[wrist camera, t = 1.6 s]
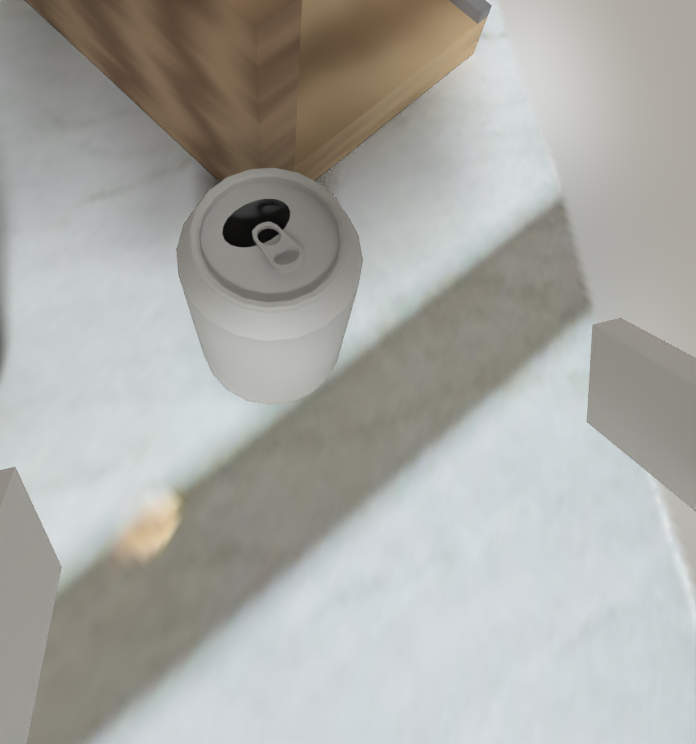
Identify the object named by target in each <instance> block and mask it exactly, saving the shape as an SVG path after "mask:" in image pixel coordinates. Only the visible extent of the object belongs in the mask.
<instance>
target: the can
mask: <svg viewBox="0 0 696 744" xmlns="http://www.w3.org/2000/svg"><path fill="white" fill-rule="evenodd" d="M177 261H178V274H179V278H180V282H181V285H182V288H183V291H184V294H185V297H186V300H187V303H188V306H189V309H190V313H191V316H192V319H193V322H194V325H195V328H196V331H197V334H198V337H199V341H200V344H201V347H202V350H203V353H204V356H205V358H206V360H207V363H208V365H209V367H210V369H211V371H212V374H213V375H214V376H215V377H216V378H217V379H218V381H219V382H220V383H221V384H222V385H223V386H224V387H225V388H226V389H227V390H228V391H230V392H232V393H234V394H236V395H237V396H239V397H241V398H243V399H245V400H247V401H251V402H257V403H262V404H267V405H272V404H281V403H290V402H293V401H295V400H298V399H300V398H302V397H304V396H306V395H309V394H311V393H312V392H313V391H314V390H315V389H317V388H318V387H319V386H320V385H321V384H322V383H323V382H324V381H325V380H327V378H328V376H329V375H330V373H331V371H332V369H333V367H334V366H335V364H336V362H337V359H338V356H339V352H340V349H341V345H342V341H343V338H344V334H345V331H346V327H347V324H348V320H349V317H350V313H351V310H352V306H353V303H354V299H355V295H356V292H357V288H358V284H359V279H360V273H361V267H362V262H363V259H362V253H361V247H360V242H359V236H358V234H357V232H356V230H355V228H354V226H353V225H352V223H351V221H350V219H349V217H348V216H347V214H346V212H345V211H344V210H343V209H342V208H341V206H340V204H339V203H338V201H337V199H336V198H334V197H333V196H332V195H331V194H330V193H329V192H328V191H327V190H326V189H325V188H324V187H323V186H322V185H321V184H319V183H318V182H316V181H314V180H312V179H310V178H308V177H306V176H304V175H302V174H300V173H297V172H293V171H288V170H283V169H278V168H261V169H249V170H246V171H243V172H240V173H237V174H234V175H231V176H228V177H226V178H225V179H223V180H222V181H221V182H219V183H218V184H216V185H215V186H214V187H212V188H211V189H209V190H208V191H207V192H206V194H205V195H204V196H203V198H202V199H201V201H200V202H199V203H198V205H197V206H196V208H195V209H194V211H193V212H192V214H191V215H190V216H189V218H188V219H187V221H186V222H185V223H184V225H183V229H182V232H181V236H180V239H179V243H178V246H177Z"/></svg>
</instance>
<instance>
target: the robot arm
mask: <svg viewBox="0 0 696 744" xmlns="http://www.w3.org/2000/svg"><path fill="white" fill-rule="evenodd" d="M587 423H589V424H590V425H591V426H592V427H594V428H595V429H596V430H597V431H598V432H600V433H601V434H602V435H603V436H605V437H606V438H607V439H608V440H609V441H611V442H612V443H613V444H614V445H616V446H617V447H618V448H619V449H620V450H622V451H623V452H624V453H625V454H627V455H628V456H629V457H630V458H631V459H633V460H634V461H635V462H636V463H637V464H639V465H640V466H641V467H642V468H644V469H645V470H646V471H647V472H648V473H650V474H651V475H652V476H653V477H655V478H656V479H657V480H658V481H659V482H661V483H662V484H663V485H664V486H666V487H667V488H668V489H669V490H670V491H672V492H673V493H674V494H675V495H677V496H678V497H679V498H680V499H681V500H683V501H684V502H685V503H686V504H687V505H689V506H690V507H691V508H693V509H694V510H695V511H696V358H695V357H693V356H691V355H689V354H687V353H685V352H683V351H681V350H680V349H678V348H676V347H674V346H672V345H670V344H669V343H667V342H665V341H663V340H661V339H659V338H657V337H655V336H653V335H651V334H650V333H648V332H646V331H644V330H642V329H640V328H639V327H637V326H635V325H633V324H631V323H629V322H627V321H625V320H623V319H622V318H619V319H615V320H611V321H607V322H602V323H598V324H594V325H593V327H592V343H591V360H590V376H589V393H588V409H587ZM61 568H62V567H61V565H60V562H59V560H58V558H57V556H56V554H55V552H54V549H53V547H52V545H51V543H50V541H49V539H48V537H47V534H46V532H45V530H44V528H43V526H42V524H41V521H40V519H39V517H38V515H37V513H36V511H35V508H34V506H33V504H32V502H31V500H30V498H29V495H28V493H27V491H26V489H25V487H24V485H23V483H22V480H21V478H20V476H19V474H18V472H17V470H16V467H12V468H8V469H4V470H0V744H27V739H28V734H29V729H30V724H31V718H32V713H33V708H34V703H35V698H36V693H37V688H38V683H39V678H40V673H41V668H42V663H43V658H44V653H45V648H46V643H47V638H48V633H49V628H50V623H51V618H52V613H53V608H54V603H55V598H56V593H57V588H58V583H59V578H60V573H61Z"/></svg>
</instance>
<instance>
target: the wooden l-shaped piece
mask: <svg viewBox="0 0 696 744" xmlns="http://www.w3.org/2000/svg"><path fill="white" fill-rule="evenodd" d="M26 1H27V2H28V3H29V4H30V5H31V6H32V7H33V8H34V9H35V10H36V11H37V12H38V13H39V14H41V15H42V16H43V17H44V18H45V19H46V20H47V21H48V22H49V23H50V24H51V25H52V26H53V27H54V28H56V29H57V30H58V31H59V32H60V33H61V34H62V35H63V36H64V37H65V38H66V39H67V40H68V41H69V42H71V43H72V44H73V45H74V46H75V47H76V48H77V49H78V50H79V51H80V52H81V53H82V54H83V55H84V56H86V57H87V58H88V59H89V60H90V61H91V62H92V63H93V64H94V65H95V66H96V67H97V68H98V69H99V70H100V71H102V72H103V73H104V74H105V75H106V76H107V77H108V78H109V79H110V80H111V81H112V82H113V83H114V84H115V85H117V86H118V87H119V88H120V89H121V90H122V91H123V92H124V93H125V94H126V95H127V96H128V97H129V98H130V99H132V100H133V101H134V102H135V103H136V104H137V105H138V106H139V107H140V108H141V109H142V110H143V111H144V112H145V113H147V114H148V115H149V116H150V117H151V118H152V119H153V120H154V121H155V122H156V123H157V124H158V125H159V126H160V127H162V128H163V129H164V130H165V131H166V132H167V133H168V134H169V135H170V136H171V137H172V138H173V139H174V140H175V141H176V142H178V143H179V144H180V145H181V146H182V147H183V148H184V149H185V150H186V151H187V152H188V153H189V154H190V155H191V156H193V157H194V158H195V159H196V160H197V161H198V162H199V163H200V164H201V165H202V166H203V167H204V168H205V169H206V170H208V171H209V172H210V173H211V174H212V175H213V176H214V177H215V178H216V179H217V180H218V181H219V182H221V181H222V180H223V179H225V178H226V177H228V176H231V175H234V174H237V173H240V172H243V171H246V170H249V169H261V168H278V169H283V170H288V171H293V172H297V173H300V174H302V175H304V176H306V177H308V178H310V179H312V180H314V181H315V180H316V179H318V178H319V177H320V176H321V175H323V174H324V173H325V172H326V171H328V170H329V169H330V168H331V167H333V166H334V165H335V164H336V163H338V162H339V161H340V160H341V159H343V158H344V157H345V156H346V155H348V154H349V153H350V152H351V151H352V150H354V149H355V148H356V147H357V146H359V145H360V144H361V143H362V142H364V141H365V140H366V139H367V138H369V137H370V136H371V135H372V134H374V133H375V132H376V131H377V130H379V129H380V128H381V127H382V126H384V125H385V124H386V123H387V122H389V121H390V120H391V119H392V118H394V117H395V116H396V115H397V114H398V113H400V112H401V111H402V110H403V109H405V108H406V107H407V106H408V105H410V104H411V103H412V102H413V101H415V100H416V99H417V98H418V97H420V96H421V95H422V94H423V93H425V92H426V91H427V90H428V89H430V88H431V87H432V86H433V85H435V84H436V83H437V82H438V81H439V80H441V79H442V78H443V77H444V76H446V75H447V74H448V73H449V72H451V71H452V70H453V69H454V68H456V67H457V66H458V65H459V64H461V63H462V62H463V61H464V60H466V59H467V58H468V57H469V56H471V55H472V54H473V53H474V51H475V48H476V45H477V43H478V40H479V37H480V35H481V32H482V30H483V27H484V24H485V22H486V19H487V16H488V14H489V11H490V8H491V5H490V4H489V3H488V2H486V1H485V0H26Z"/></svg>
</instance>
